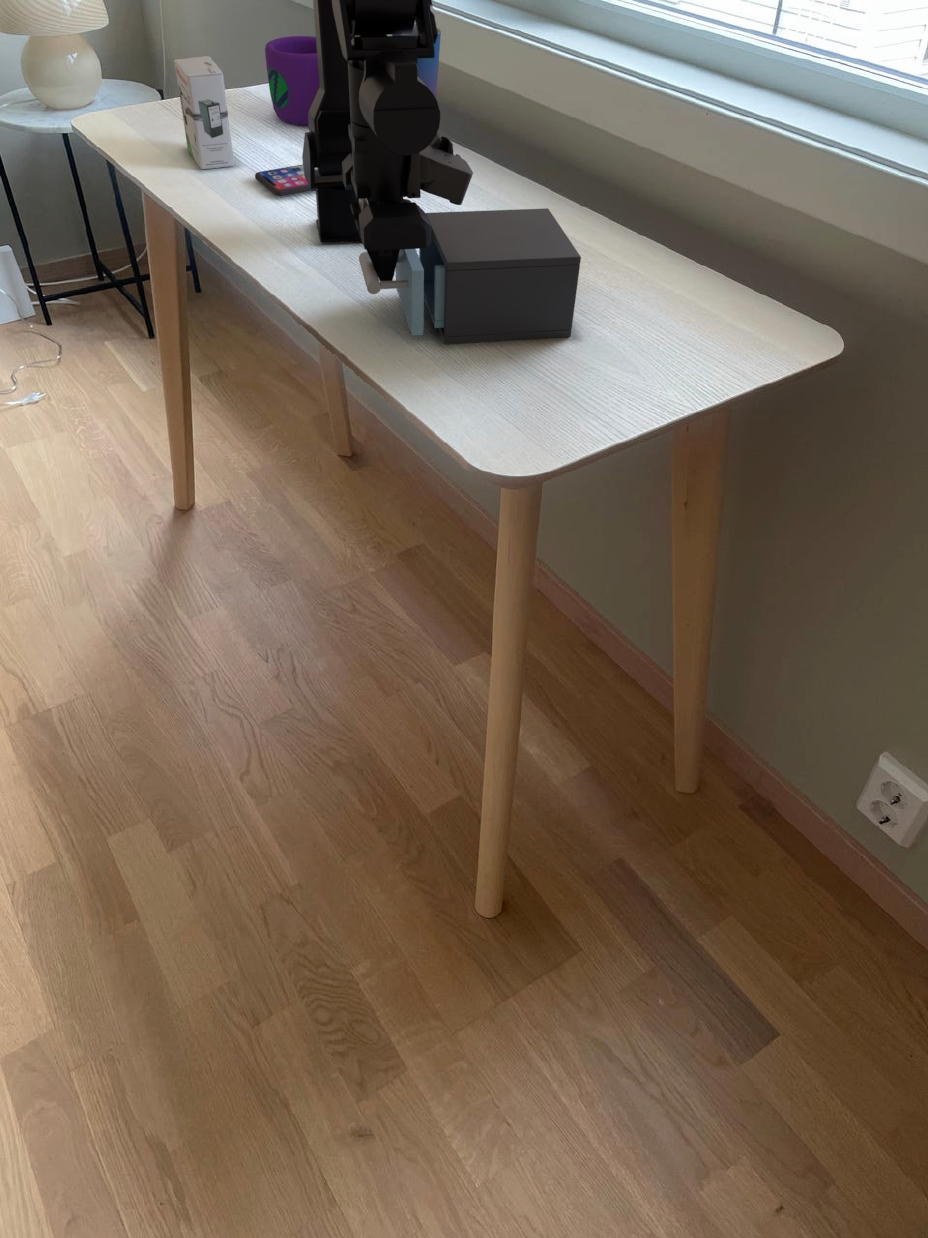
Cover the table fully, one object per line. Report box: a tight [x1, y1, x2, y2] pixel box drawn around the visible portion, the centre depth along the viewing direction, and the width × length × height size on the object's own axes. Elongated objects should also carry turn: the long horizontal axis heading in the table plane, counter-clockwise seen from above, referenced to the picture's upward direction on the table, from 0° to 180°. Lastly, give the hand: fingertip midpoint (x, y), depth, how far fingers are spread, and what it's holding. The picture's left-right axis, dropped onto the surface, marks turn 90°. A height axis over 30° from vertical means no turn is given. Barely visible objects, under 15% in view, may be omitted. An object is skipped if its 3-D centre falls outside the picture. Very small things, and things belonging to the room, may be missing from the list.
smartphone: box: [254, 164, 318, 197], centre depth 126 cm, size 8×1×15 cm
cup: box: [391, 23, 442, 99], centre depth 133 cm, size 7×7×15 cm
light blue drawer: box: [358, 234, 446, 336], centre depth 97 cm, size 17×11×7 cm
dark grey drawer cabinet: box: [425, 208, 582, 345], centre depth 98 cm, size 14×13×9 cm
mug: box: [264, 35, 320, 126], centre depth 141 cm, size 17×11×10 cm, turn 43°
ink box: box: [173, 55, 236, 170], centre depth 127 cm, size 9×5×12 cm, turn 25°
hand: (386, 283), depth 96 cm, fingers closed, pressing on light blue drawer
